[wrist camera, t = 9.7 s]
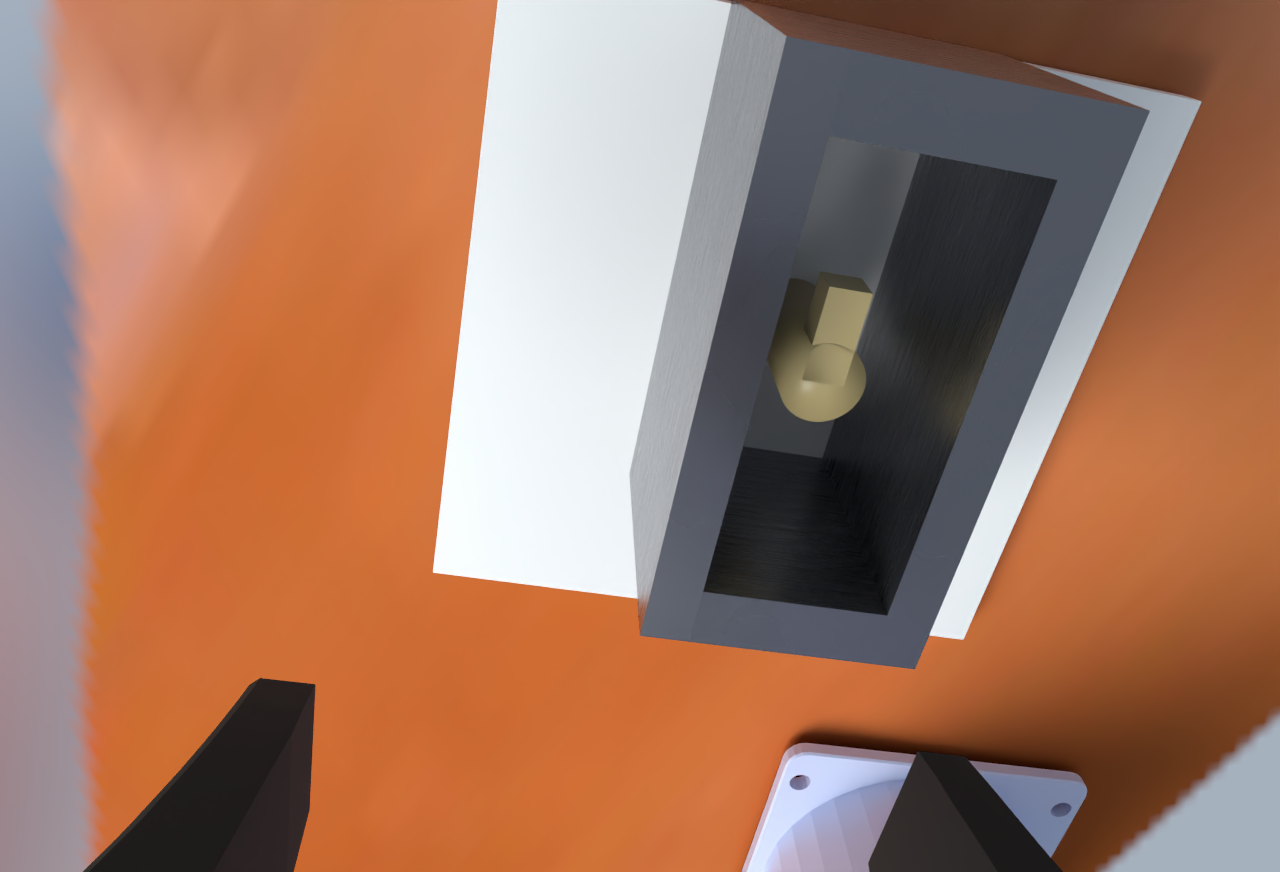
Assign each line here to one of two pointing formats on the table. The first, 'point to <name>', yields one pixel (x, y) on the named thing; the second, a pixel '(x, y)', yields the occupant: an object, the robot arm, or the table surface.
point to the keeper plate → (640, 281)
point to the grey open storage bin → (890, 343)
